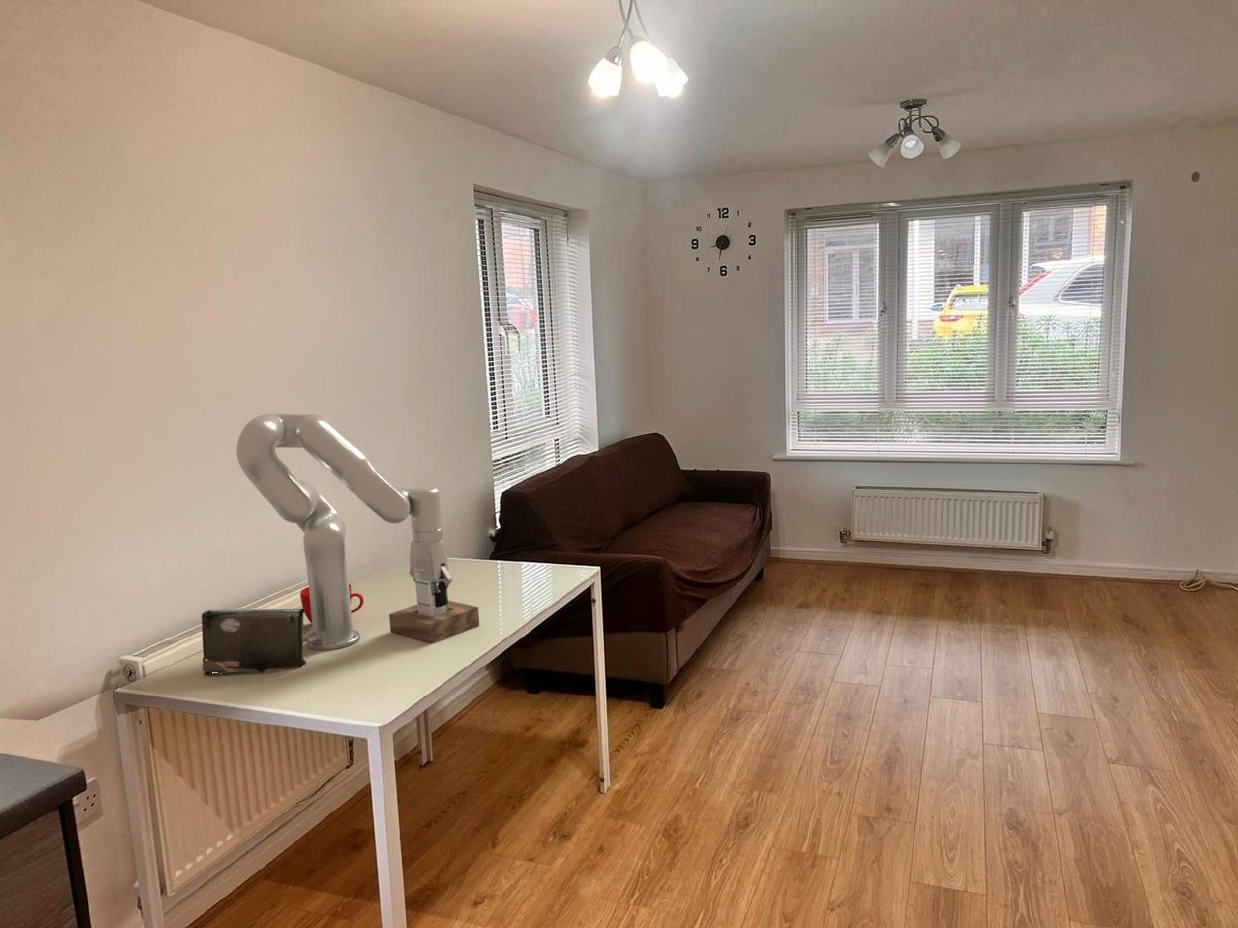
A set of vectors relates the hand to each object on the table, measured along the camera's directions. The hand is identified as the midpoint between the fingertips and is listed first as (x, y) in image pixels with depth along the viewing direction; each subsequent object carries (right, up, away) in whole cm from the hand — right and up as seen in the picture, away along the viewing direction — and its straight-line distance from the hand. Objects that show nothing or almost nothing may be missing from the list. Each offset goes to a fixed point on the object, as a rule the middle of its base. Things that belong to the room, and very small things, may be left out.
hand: (432, 603), depth 225 cm
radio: (-36, -12, -21) cm, 44 cm away
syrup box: (0, -5, +1) cm, 5 cm away
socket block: (+1, -7, +1) cm, 7 cm away
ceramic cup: (-27, -7, +8) cm, 29 cm away
